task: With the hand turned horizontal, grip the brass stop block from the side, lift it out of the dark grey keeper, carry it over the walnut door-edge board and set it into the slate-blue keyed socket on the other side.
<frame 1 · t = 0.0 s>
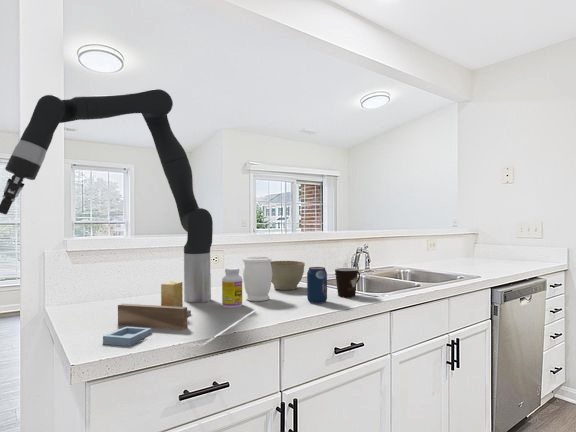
hand: (1, 213, 110), 31 cm above the worktop, tool tilted 20°, fingers open, 8 cm apart
coffee mug: (350, 296, 150), on the worktop
jamb keeper: (172, 319, 117), on the worktop
keyed socket: (128, 339, 98), on the worktop
planter bowl: (285, 288, 167), on the worktop
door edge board: (152, 328, 107), on the worktop
brass stop: (172, 317, 117), point 1 cm above the worktop, touching jamb keeper
jar: (257, 299, 145), on the worktop
soda can: (317, 302, 139), on the worktop
supplement bottle: (232, 307, 132), on the worktop
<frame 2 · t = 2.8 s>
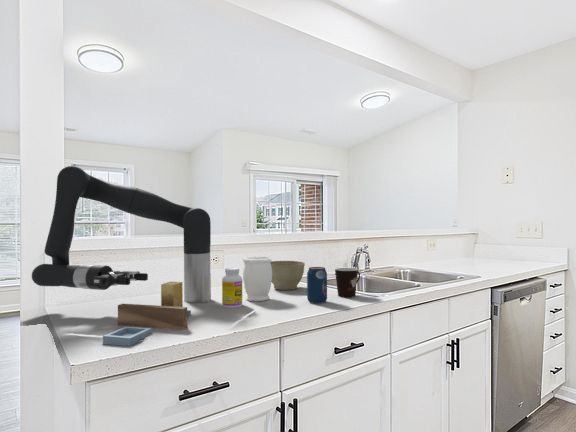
hand: (138, 279, 120), 11 cm above the worktop, tool horizontal, fingers open, 8 cm apart
nothing on the worktop moved.
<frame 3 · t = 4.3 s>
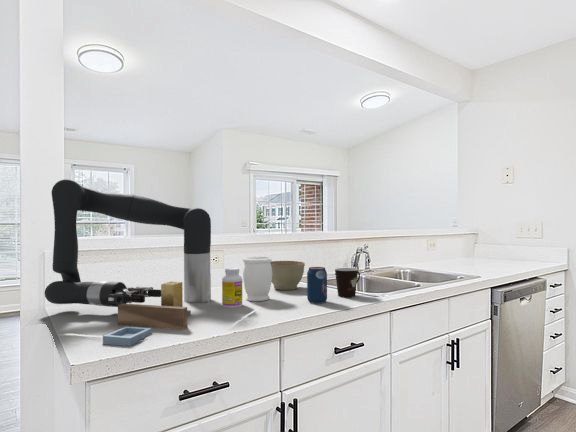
hand: (153, 296, 119), 7 cm above the worktop, tool horizontal, fingers open, 8 cm apart
nothing on the worktop moved.
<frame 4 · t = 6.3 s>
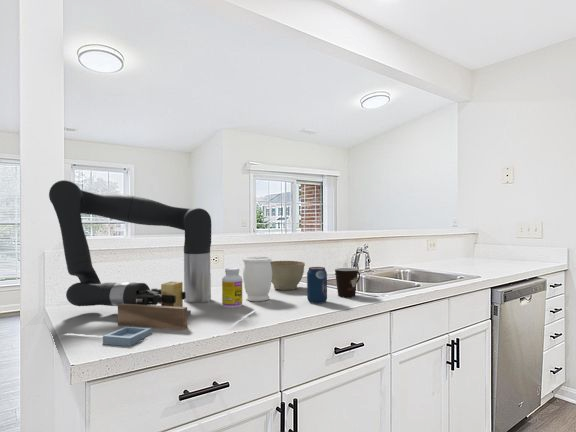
hand: (179, 297, 116), 7 cm above the worktop, tool horizontal, fingers closed on brass stop, 5 cm apart
brass stop: (172, 317, 117), point 1 cm above the worktop, touching gripper, jamb keeper
everything else where it was.
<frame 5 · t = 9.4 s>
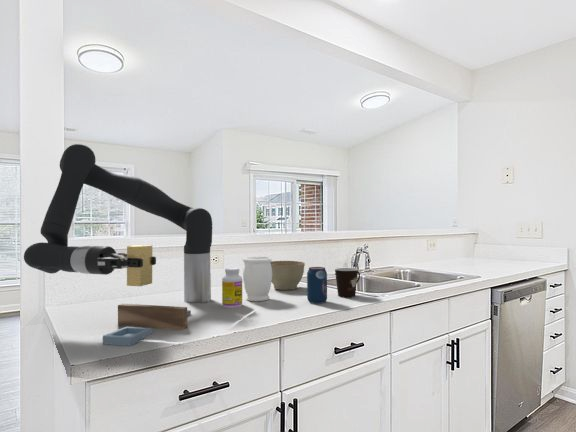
hand: (148, 261, 103), 18 cm above the worktop, tool horizontal, fingers closed on brass stop, 5 cm apart
brass stop: (139, 284, 103), point 13 cm above the worktop, touching gripper
everything else where it was.
when the fingers open (8 cm above the worktop, at t = 12.4 s): brass stop drops 1 cm, resting on keyed socket.
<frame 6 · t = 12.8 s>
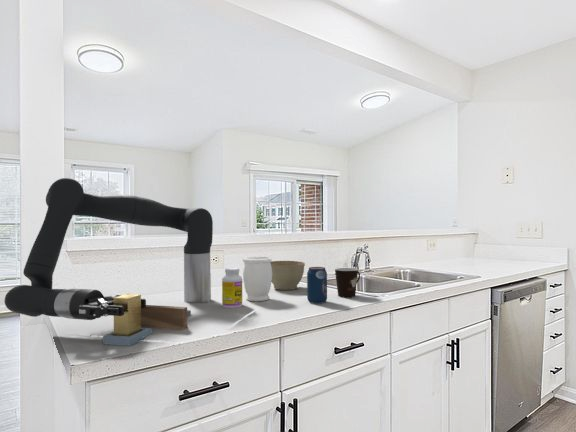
hand: (134, 307, 97), 8 cm above the worktop, tool horizontal, fingers open, 8 cm apart
brass stop: (127, 336, 98), point 1 cm above the worktop, touching keyed socket
everything else where it was.
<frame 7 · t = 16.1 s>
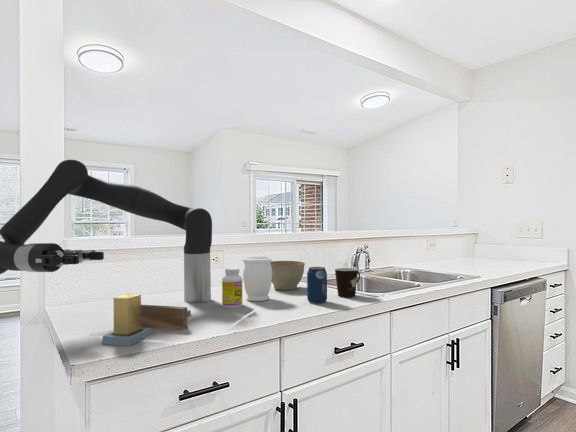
hand: (90, 257, 101), 20 cm above the worktop, tool horizontal, fingers open, 8 cm apart
nothing on the worktop moved.
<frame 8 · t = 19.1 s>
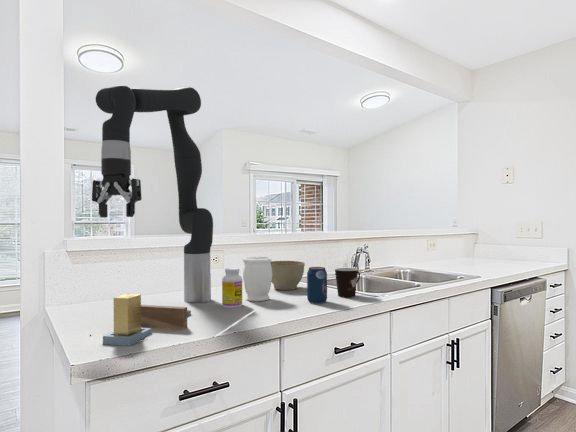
hand: (116, 217, 110), 30 cm above the worktop, tool pointing down, fingers open, 8 cm apart
nothing on the worktop moved.
at the end: brass stop 0.1 cm off-centre on the keyed socket, point 0.6 cm above the keyed socket's base; brass stop tilted 0°; the gripper is holding nothing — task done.
